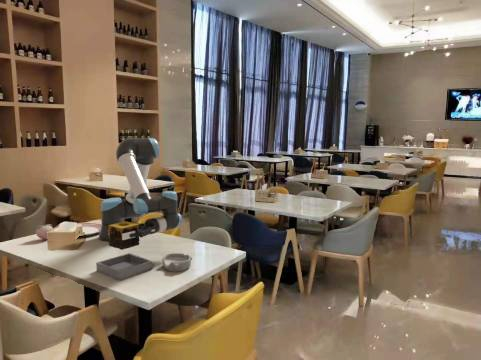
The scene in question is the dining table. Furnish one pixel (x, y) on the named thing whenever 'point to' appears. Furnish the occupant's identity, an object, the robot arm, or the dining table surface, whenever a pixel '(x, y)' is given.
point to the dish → (176, 262)
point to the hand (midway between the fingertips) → (115, 234)
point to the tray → (124, 266)
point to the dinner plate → (91, 228)
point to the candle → (117, 232)
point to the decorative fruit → (43, 231)
